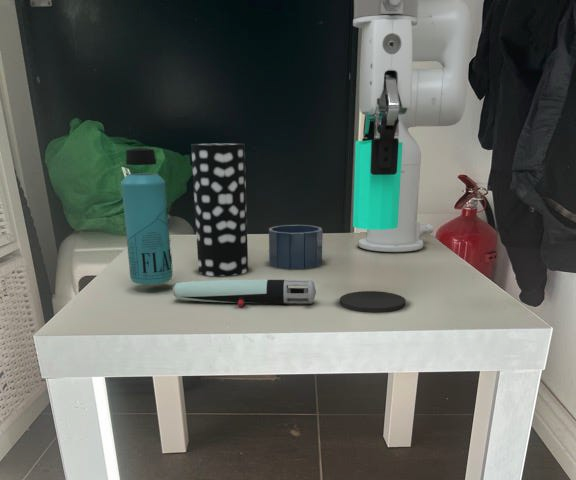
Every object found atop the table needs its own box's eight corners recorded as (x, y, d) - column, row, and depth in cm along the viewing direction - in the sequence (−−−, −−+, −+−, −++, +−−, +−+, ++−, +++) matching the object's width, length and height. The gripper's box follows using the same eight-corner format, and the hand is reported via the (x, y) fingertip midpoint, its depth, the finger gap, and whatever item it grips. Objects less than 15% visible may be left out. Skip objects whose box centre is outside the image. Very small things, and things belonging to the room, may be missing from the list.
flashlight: (166, 295, 87) (315, 297, 85) (172, 274, 89) (316, 274, 88) (171, 313, 89) (315, 314, 88) (176, 291, 92) (316, 292, 90)
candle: (349, 223, 87) (352, 128, 83) (392, 222, 88) (398, 127, 83) (356, 230, 82) (360, 128, 77) (403, 229, 82) (409, 128, 78)
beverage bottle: (140, 296, 93) (125, 149, 85) (124, 287, 98) (109, 148, 90) (181, 290, 96) (171, 148, 88) (163, 281, 101) (152, 146, 94)
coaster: (376, 291, 95) (376, 287, 94) (419, 305, 88) (419, 301, 87) (326, 301, 90) (326, 296, 90) (368, 316, 83) (368, 311, 83)
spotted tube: (188, 273, 107) (180, 144, 99) (216, 263, 114) (210, 143, 106) (231, 278, 103) (225, 145, 95) (257, 268, 110) (254, 143, 102)
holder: (302, 256, 119) (302, 223, 117) (332, 264, 112) (332, 229, 110) (259, 262, 115) (258, 228, 112) (288, 271, 108) (287, 235, 105)
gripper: (437, -2, 68) (424, 177, 74) (401, 21, 83) (393, 167, 90) (366, -2, 67) (359, 178, 74) (343, 21, 83) (340, 168, 90)
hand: (378, 170), depth 82 cm, fingers closed on candle, 6 cm apart
